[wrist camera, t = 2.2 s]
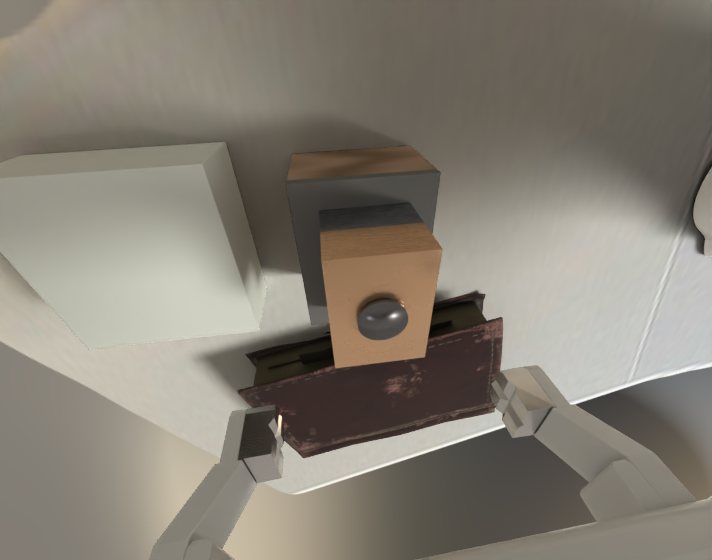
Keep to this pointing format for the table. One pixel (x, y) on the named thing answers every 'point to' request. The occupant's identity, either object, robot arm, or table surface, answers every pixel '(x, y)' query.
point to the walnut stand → (351, 199)
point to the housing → (378, 282)
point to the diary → (381, 383)
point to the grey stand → (134, 242)
